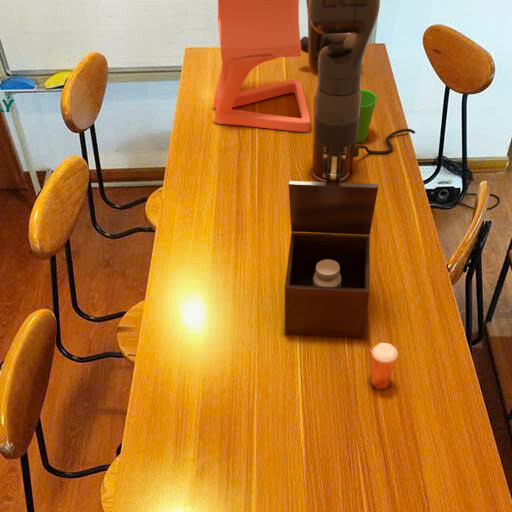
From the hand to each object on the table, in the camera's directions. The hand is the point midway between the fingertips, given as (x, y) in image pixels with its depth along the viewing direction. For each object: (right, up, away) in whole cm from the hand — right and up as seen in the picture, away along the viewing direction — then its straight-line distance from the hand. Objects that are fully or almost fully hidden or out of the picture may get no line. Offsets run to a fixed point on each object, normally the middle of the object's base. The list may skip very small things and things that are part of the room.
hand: (331, 200), depth 129 cm
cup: (+11, +32, +53) cm, 63 cm away
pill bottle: (0, -18, +12) cm, 22 cm away
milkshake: (+9, -34, 0) cm, 35 cm away
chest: (0, -18, +12) cm, 22 cm away
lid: (0, -2, -1) cm, 2 cm away
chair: (-15, +42, +62) cm, 77 cm away
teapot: (+6, +61, +77) cm, 99 cm away
